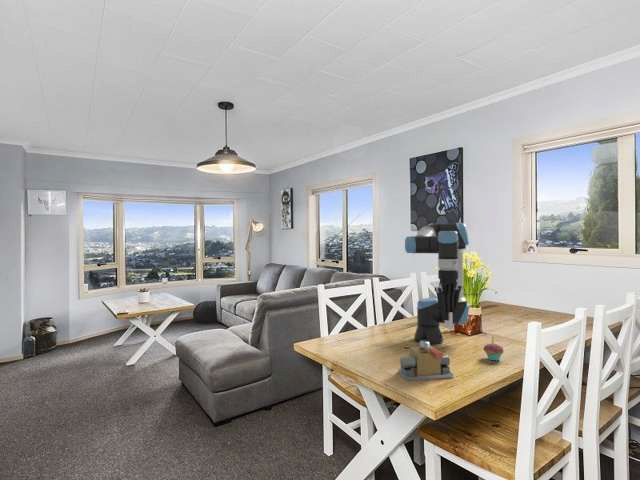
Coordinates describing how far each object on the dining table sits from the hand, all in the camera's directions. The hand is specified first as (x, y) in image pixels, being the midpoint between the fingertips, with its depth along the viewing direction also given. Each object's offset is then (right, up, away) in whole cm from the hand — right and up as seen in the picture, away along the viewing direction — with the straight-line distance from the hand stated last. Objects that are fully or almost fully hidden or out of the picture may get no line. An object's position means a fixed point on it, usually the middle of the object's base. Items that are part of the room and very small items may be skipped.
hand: (448, 328), depth 145 cm
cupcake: (+29, -21, +24) cm, 43 cm away
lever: (-7, -11, +1) cm, 13 cm away
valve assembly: (-8, -21, +7) cm, 24 cm away
